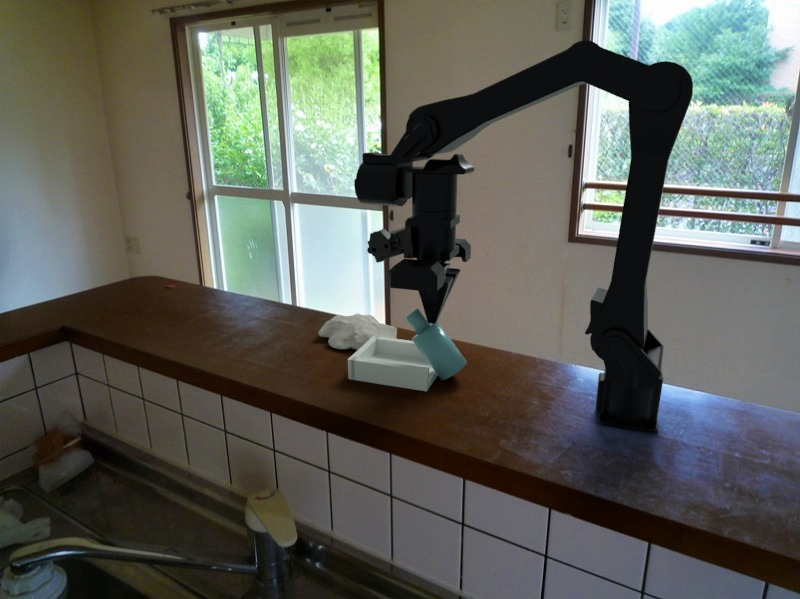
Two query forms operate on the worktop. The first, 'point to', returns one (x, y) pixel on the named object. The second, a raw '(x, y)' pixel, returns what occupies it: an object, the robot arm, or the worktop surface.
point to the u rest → (391, 364)
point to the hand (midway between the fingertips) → (432, 322)
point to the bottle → (436, 346)
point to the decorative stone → (354, 331)
